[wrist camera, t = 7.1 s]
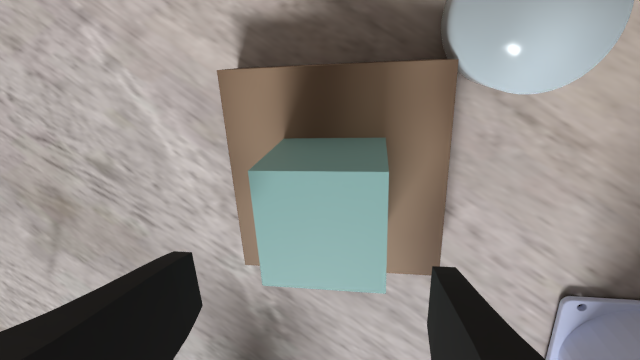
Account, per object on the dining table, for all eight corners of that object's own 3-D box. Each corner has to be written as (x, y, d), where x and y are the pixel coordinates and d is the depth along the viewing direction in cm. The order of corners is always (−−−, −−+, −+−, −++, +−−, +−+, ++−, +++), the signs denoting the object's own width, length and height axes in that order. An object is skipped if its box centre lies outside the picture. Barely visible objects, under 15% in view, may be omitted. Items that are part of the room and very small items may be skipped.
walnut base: (447, 58, 16) (458, 59, 14) (431, 250, 20) (438, 275, 18) (237, 68, 18) (216, 70, 16) (259, 242, 22) (245, 264, 20)
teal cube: (385, 137, 16) (389, 171, 11) (383, 230, 18) (385, 293, 13) (283, 138, 17) (247, 170, 12) (291, 227, 18) (262, 285, 14)
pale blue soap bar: (593, -63, 14) (658, -98, 11) (565, 84, 16) (611, 91, 13) (445, -48, 15) (464, -76, 12) (436, 88, 17) (449, 96, 14)
